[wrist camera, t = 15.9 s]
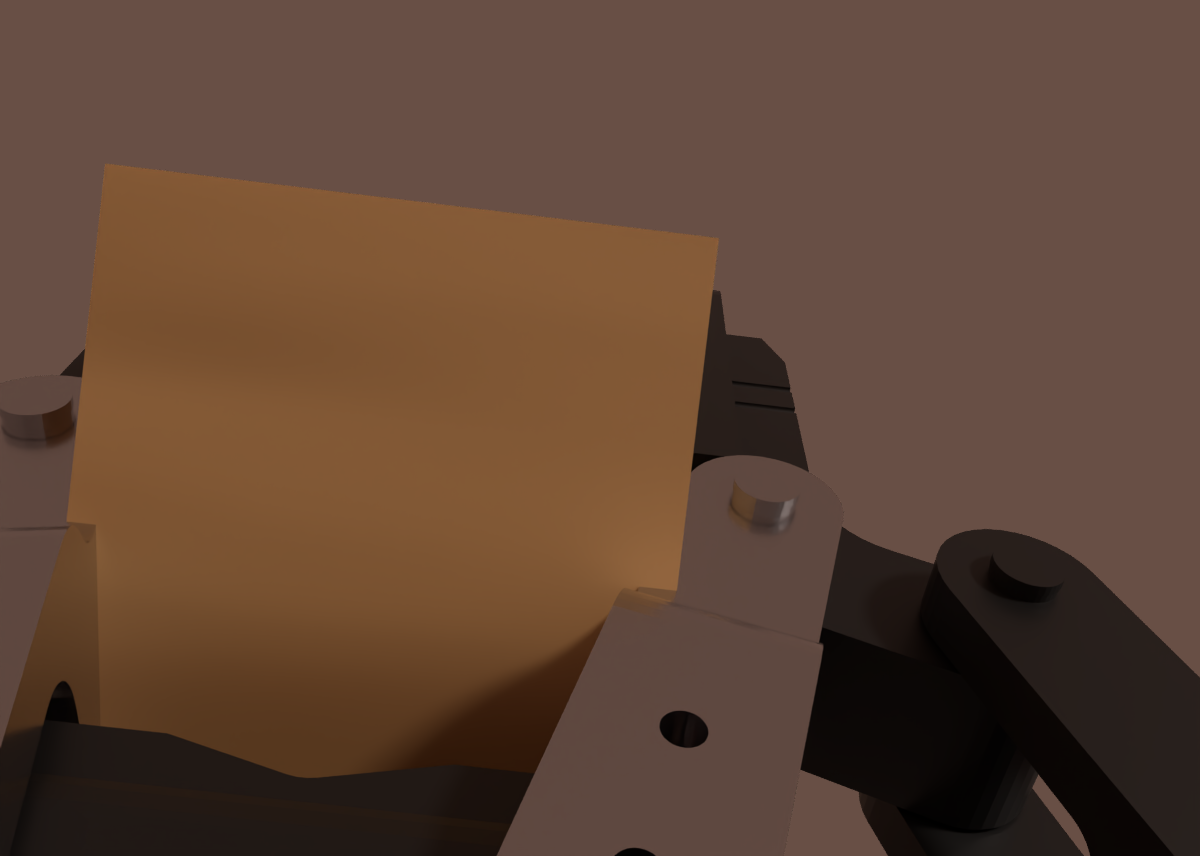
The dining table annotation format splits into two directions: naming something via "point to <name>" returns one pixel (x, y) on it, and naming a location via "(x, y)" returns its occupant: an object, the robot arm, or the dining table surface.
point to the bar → (374, 464)
